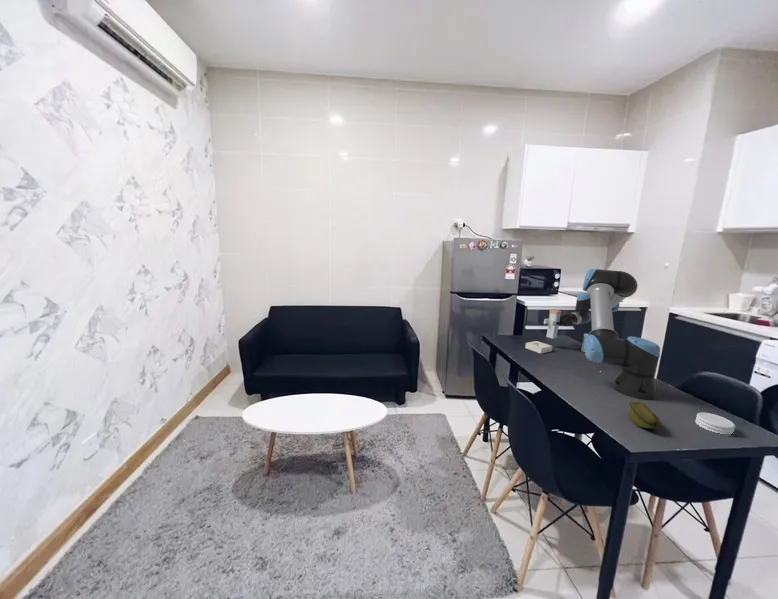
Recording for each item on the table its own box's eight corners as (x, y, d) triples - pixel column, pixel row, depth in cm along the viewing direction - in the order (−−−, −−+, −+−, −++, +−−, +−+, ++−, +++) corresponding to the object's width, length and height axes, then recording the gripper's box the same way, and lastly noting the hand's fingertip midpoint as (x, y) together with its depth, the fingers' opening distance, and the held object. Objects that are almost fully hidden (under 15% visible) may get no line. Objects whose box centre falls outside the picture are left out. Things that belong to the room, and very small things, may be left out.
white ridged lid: (714, 421, 126) (716, 412, 125) (741, 437, 116) (744, 427, 115) (687, 419, 126) (689, 411, 125) (712, 435, 116) (714, 426, 115)
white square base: (551, 352, 193) (552, 346, 192) (540, 355, 187) (541, 348, 187) (535, 347, 201) (536, 340, 200) (525, 349, 196) (526, 342, 195)
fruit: (616, 419, 122) (620, 403, 121) (631, 412, 129) (635, 396, 127) (653, 436, 113) (658, 418, 112) (668, 427, 119) (672, 409, 118)
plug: (557, 337, 198) (561, 311, 195) (552, 338, 196) (556, 311, 193) (550, 335, 202) (554, 309, 199) (545, 336, 199) (549, 309, 196)
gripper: (584, 328, 200) (561, 333, 188) (557, 321, 214) (534, 325, 202) (586, 316, 198) (563, 319, 186) (559, 310, 213) (536, 312, 200)
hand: (548, 322), depth 194 cm, fingers closed on plug, 4 cm apart
